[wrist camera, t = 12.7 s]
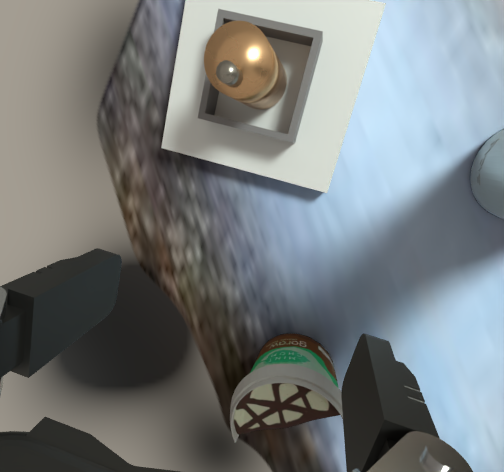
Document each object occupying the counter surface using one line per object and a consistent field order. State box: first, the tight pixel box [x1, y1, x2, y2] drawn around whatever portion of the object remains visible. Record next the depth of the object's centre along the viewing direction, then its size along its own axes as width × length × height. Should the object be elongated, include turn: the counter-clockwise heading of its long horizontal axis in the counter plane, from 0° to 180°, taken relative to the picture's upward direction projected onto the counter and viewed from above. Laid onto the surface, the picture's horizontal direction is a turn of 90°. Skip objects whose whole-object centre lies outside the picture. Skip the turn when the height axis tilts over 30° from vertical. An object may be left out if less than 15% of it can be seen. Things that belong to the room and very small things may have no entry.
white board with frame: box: [161, 0, 386, 193], centre depth 33 cm, size 18×17×5 cm
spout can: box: [204, 21, 287, 110], centre depth 29 cm, size 5×5×11 cm
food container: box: [230, 334, 343, 443], centre depth 38 cm, size 12×6×10 cm, turn 112°
